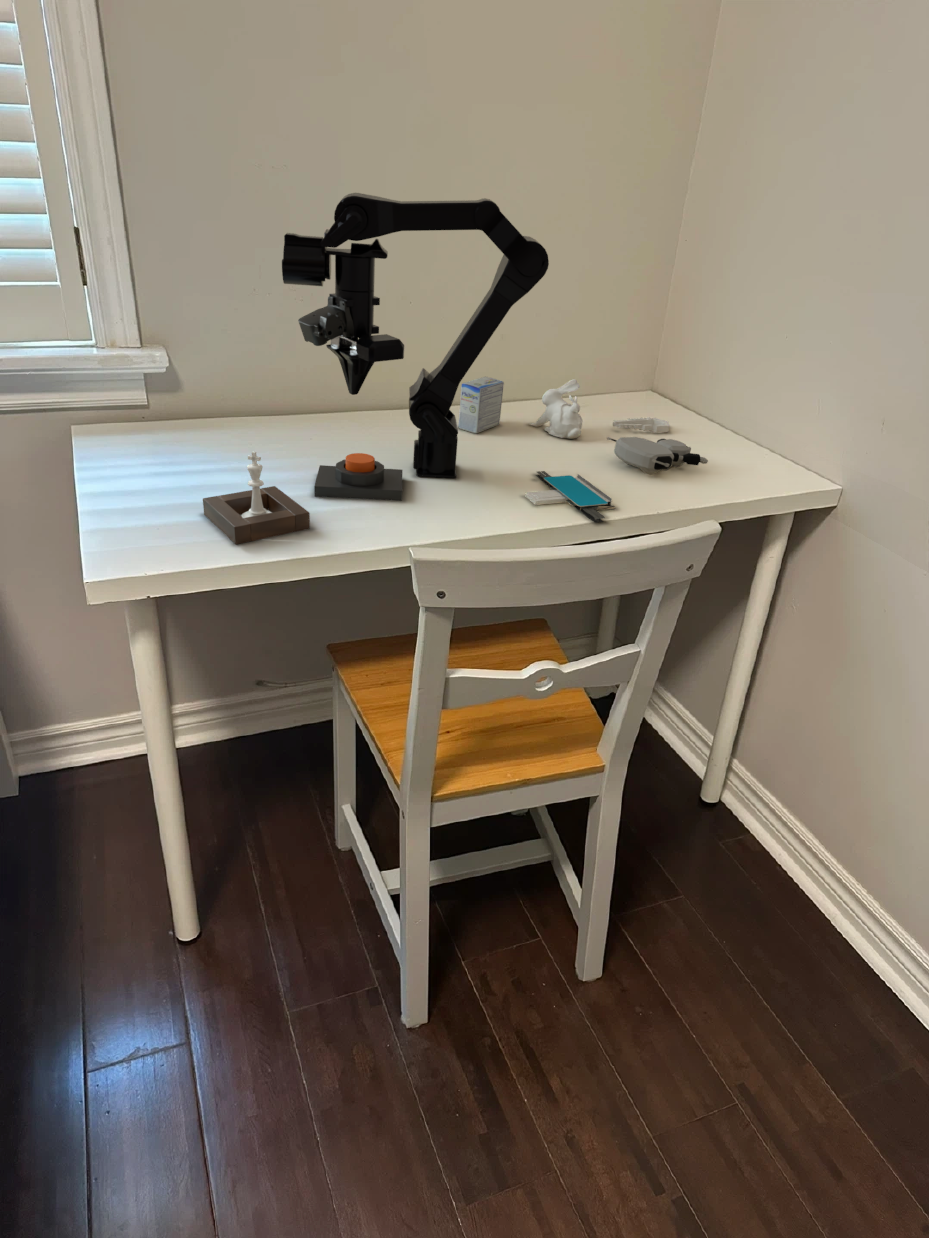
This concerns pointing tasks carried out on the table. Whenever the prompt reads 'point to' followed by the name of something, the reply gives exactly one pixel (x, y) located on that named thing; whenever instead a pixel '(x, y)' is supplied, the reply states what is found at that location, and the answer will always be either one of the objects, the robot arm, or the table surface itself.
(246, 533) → the frame
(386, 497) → the push button base
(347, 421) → the table surface
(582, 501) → the phone stand
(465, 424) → the medicine box
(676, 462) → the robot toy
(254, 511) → the chess piece
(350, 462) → the orange push button
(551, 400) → the rabbit figurine
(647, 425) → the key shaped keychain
